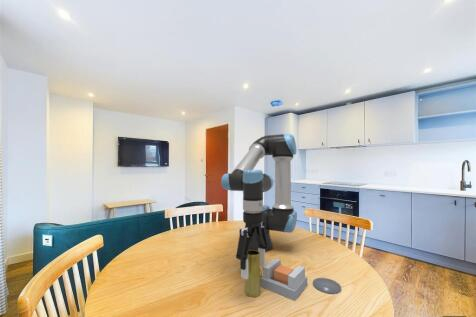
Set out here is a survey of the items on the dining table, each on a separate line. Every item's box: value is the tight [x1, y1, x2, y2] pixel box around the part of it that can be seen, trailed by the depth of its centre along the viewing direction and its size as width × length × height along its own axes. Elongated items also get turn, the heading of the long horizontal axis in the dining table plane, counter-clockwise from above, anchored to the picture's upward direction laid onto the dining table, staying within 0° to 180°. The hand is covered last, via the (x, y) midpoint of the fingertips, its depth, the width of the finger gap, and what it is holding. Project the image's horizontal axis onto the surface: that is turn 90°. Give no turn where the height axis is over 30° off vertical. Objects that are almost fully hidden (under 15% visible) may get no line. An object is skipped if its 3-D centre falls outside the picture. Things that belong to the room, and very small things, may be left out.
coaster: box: [312, 277, 342, 295], centre depth 80 cm, size 10×10×1 cm
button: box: [274, 264, 295, 285], centre depth 80 cm, size 6×6×4 cm
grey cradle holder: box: [260, 258, 308, 301], centre depth 80 cm, size 14×12×7 cm
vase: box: [244, 249, 262, 298], centre depth 76 cm, size 6×6×14 cm
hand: (253, 271), depth 76 cm, fingers open, 10 cm apart
